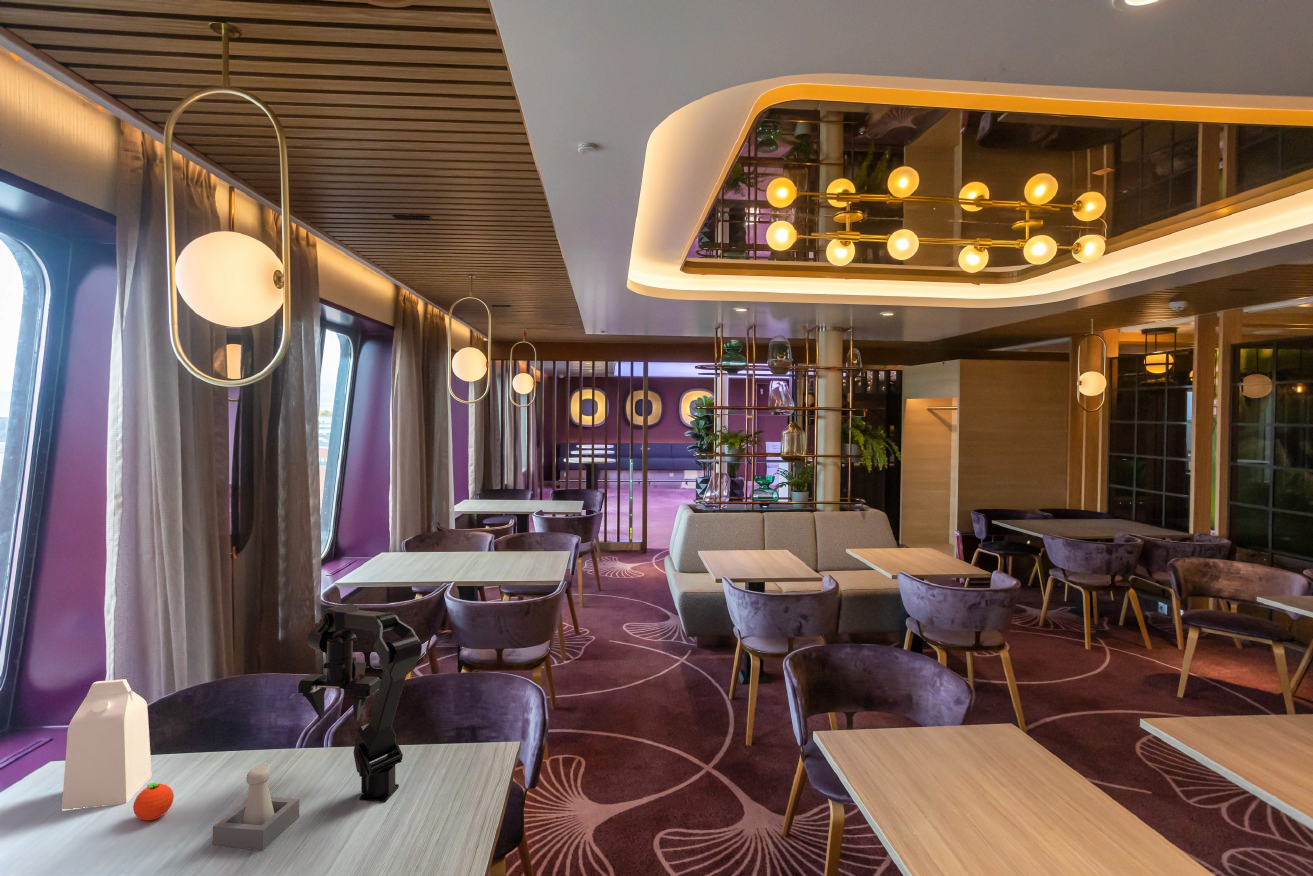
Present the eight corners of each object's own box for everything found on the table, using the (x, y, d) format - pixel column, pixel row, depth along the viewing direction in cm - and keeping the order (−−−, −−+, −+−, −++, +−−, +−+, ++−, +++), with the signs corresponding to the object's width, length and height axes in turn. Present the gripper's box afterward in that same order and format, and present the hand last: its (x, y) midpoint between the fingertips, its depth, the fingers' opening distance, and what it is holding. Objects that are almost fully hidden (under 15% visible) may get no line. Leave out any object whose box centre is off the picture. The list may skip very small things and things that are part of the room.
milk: (151, 776, 154) (152, 670, 154) (126, 803, 143) (126, 688, 142) (92, 783, 150) (92, 674, 150) (61, 811, 139) (61, 694, 139)
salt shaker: (272, 818, 138) (272, 759, 137) (276, 832, 133) (277, 770, 133) (240, 829, 134) (240, 768, 134) (243, 843, 129) (244, 780, 129)
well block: (299, 817, 138) (299, 799, 138) (263, 850, 127) (263, 830, 127) (252, 813, 139) (252, 795, 139) (212, 846, 128) (212, 826, 128)
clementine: (127, 817, 137) (127, 785, 137) (166, 802, 143) (166, 771, 143) (138, 832, 133) (138, 798, 133) (178, 816, 138) (178, 783, 138)
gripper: (392, 647, 164) (391, 707, 164) (324, 644, 166) (324, 703, 166) (368, 662, 153) (368, 727, 153) (296, 659, 154) (295, 722, 155)
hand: (339, 719), depth 157 cm, fingers open, 9 cm apart
